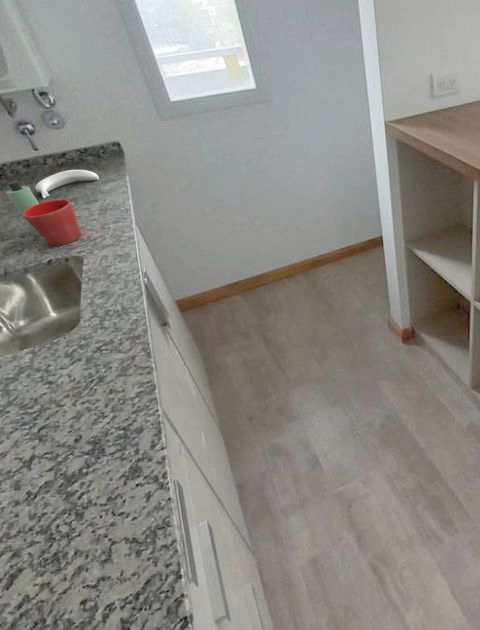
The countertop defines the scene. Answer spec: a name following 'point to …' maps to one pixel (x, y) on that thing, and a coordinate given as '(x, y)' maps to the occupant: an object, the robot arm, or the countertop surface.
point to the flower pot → (54, 221)
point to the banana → (63, 180)
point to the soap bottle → (22, 200)
